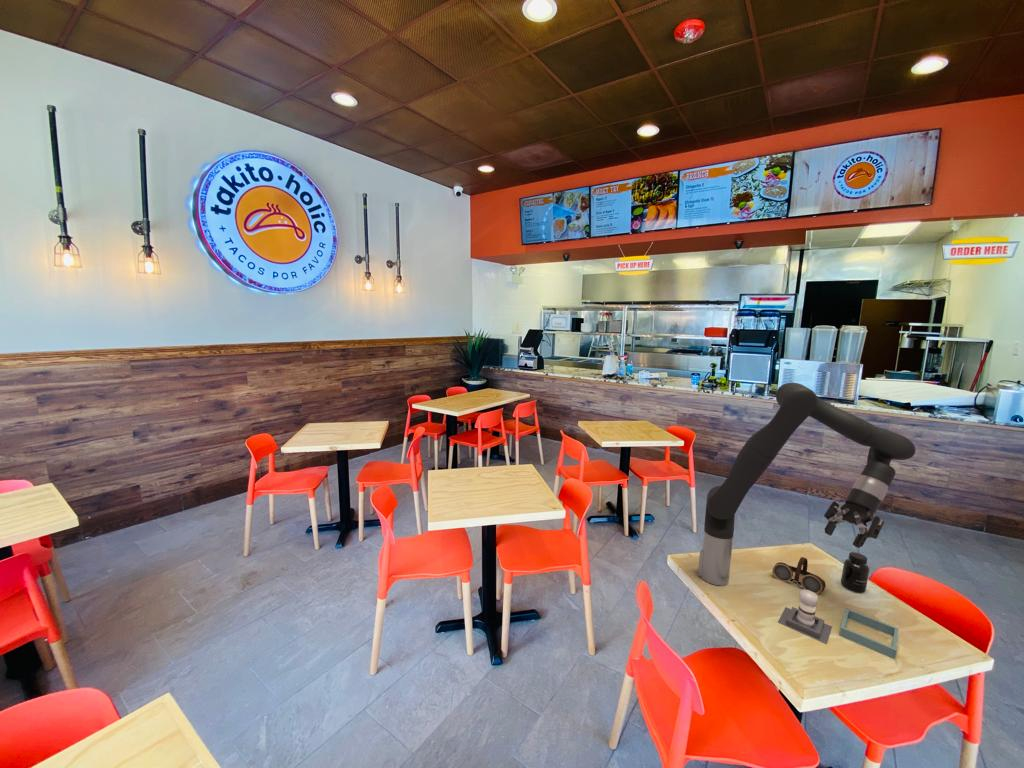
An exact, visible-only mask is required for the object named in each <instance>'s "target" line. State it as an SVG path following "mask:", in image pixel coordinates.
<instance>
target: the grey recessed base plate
mask: <svg viewBox="0 0 1024 768" xmlns="http://www.w3.org/2000/svg"><path fill="white" fill-rule="evenodd" d="M798 610H799V608H796V607H794V606H792V607H791V608H789V607H787V606H785V607H784V609H783V611H782V613H781V615H780V617H779V619H778V621H777V623H778V624H780V625H782V626H785V627H787V628H789V629H791V630H794V631H795V632H797V633H800V634H802V635H804V636H807V637H809V638H812V639H814V640H816V641H818V642H820V643H823V644H825V645H828V642H829V639H830V635H831V633H832V629H833V626H832V625H830V624H827V623H826V622H825V619H823V618H821V617H818V616H816V615H815V618H814V619H815V621H814V628H813V629H812V628H810V627H808V626H805V625H803V624H801V623H798V622H796V621H797V614H798Z"/></svg>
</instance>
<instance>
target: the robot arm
mask: <svg viewBox="0 0 1024 768" xmlns="http://www.w3.org/2000/svg"><path fill="white" fill-rule="evenodd" d="M775 401H776V402H777V404H778V405H779V409H778V410H777V411H776V413H775V415H774V416H773V418H772V419H771V420H770V421H769V422H767V424H765V426H763V427H762V428H760V429H759V430H758V431H756V432H755V433H754V434H752V435H751V436H750V437H749V438H748V439H747V440H746V442H745V443H744V445H743V446H742V447H741V449H740V450H739V452H738V454H737V456H736V457H735V460H734V462H733V464H732V466H731V469H730V471H729V474H727V476H726V478H725V480H724V482H723V483H722V484H721V485H717V486H713V487H712V488H711V489H709V491H708V493H707V495H706V503H705V515H704V516H705V517H704V526H703V538H702V548H701V549H700V551H699V558H698V569H697V576H698V577H700V578H701V579H702V580H704V581H705V582H707V583H709V584H712V585H715V586H726V585H727V584H728V583H729V579H730V571H731V569H730V568H731V560H732V551H733V544H734V543H733V541H734V533H735V518H736V517H735V515H736V513H737V511H738V510H739V508H740V506H741V504H742V502H743V501H744V499H745V497H746V496H747V494H748V493H749V491H750V490H751V488H752V487H753V486H754V485H755V483H756V482H757V481H759V479H760V478H761V477H762V475H763V474H764V472H765V471H766V470H767V469H768V468H769V466H770V465H771V464H772V462H773V461H774V460H775V459H776V457H777V456H778V455H779V452H780V451H781V450H782V449H783V448H784V446H785V445H786V443H787V442H788V441H789V439H790V438H791V436H792V435H793V434H794V432H796V430H797V429H799V427H800V426H801V425H802V424H803V423H804V422H805V421H806V420H807V419H808V417H810V418H812V419H814V420H816V421H817V422H820V423H822V424H823V425H824V426H826V427H828V428H829V429H831V430H833V431H835V433H838V434H839V435H840V436H842V437H845V438H847V439H848V440H851V441H852V442H854V443H856V444H859V445H862V446H865V447H869V449H868V454H867V458H866V459H867V460H866V465H865V466H864V468H863V470H862V472H861V474H860V475H859V477H857V479H856V480H855V482H854V484H853V485H852V487H851V488H850V491H849V492H848V494H847V496H846V498H845V502H844V503H843V504H840V503H838V502H837V501H832V503H831V504H830V505H829V507H828V509H827V510H826V512H825V514H824V515H823V517H824V518H826V520H827V521H828V522H827V523H826V526H825V528H824V534H826V535H828V536H829V537H830V536H832V535H833V533H834V531H835V530H836V528H837V525H839V524H841V523H843V524H844V523H849V524H853V525H854V526H856V527H858V530H859V533H857V534H856V537H855V539H854V540H853V542H852V545H853V546H854V547H855V548H858V549H860V548H862V547H863V546H864V545H865V543H866V541H867V539H869V538H871V539H872V538H873V539H874V540H875V539H877V538H878V537H879V536H880V532H881V530H882V528H883V526H884V524H885V521H884V520H883V519H882V518H881V517H879V516H877V515H876V516H874V514H876V513H877V511H878V509H879V507H880V506H881V504H882V502H883V501H884V499H885V498H886V495H887V493H888V489H889V487H890V485H891V483H892V482H893V480H894V478H895V475H896V474H897V473H896V469H895V468H894V467H893V466H891V461H892V460H895V461H896V460H897V461H905V460H909V459H911V458H913V457H914V455H915V454H916V451H917V449H916V445H915V444H914V443H913V442H912V440H910V439H909V438H908V437H906V436H904V435H901V434H899V433H897V432H894V431H891V430H888V429H884V428H881V427H878V426H877V425H875V424H873V423H871V422H869V421H867V420H864V419H863V418H862V417H861V418H860V417H859V416H856V415H855V414H852V413H850V412H847V411H846V410H842V409H841V408H839V407H837V406H834V405H832V404H830V403H828V402H826V401H825V400H823V399H821V398H820V397H818V396H817V394H816V393H815V391H813V390H812V389H810V388H809V387H807V386H806V385H804V384H801V383H798V382H786V383H784V384H782V385H780V386H779V387H778V388H777V390H776V392H775ZM870 522H871V523H870ZM868 523H870V525H869V526H868Z"/></svg>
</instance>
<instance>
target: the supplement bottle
mask: <svg viewBox="0 0 1024 768" xmlns="http://www.w3.org/2000/svg"><path fill="white" fill-rule="evenodd" d="M867 563H868V557H867V556H866V555H864V554H862V553H859V552H856V551H850V552H849V554H848V557H847V558H846V559H844V561H843V566H842V572H841V579H840V584H841V586H842V587H843V588H845V589H846V590H848V591H850V592H853V593H855V594H856V593H858V594H863V593H865V592H866V590H867V586H868V579H869V575H870V567H869V566H868V564H867Z"/></svg>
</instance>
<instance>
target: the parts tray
mask: <svg viewBox="0 0 1024 768" xmlns="http://www.w3.org/2000/svg"><path fill="white" fill-rule="evenodd" d="M842 617H843V618H842V621H841V624H840V630H839V636H840V637H842V638H844V639H847V640H849V641H851V642H854V643H856V644H859V645H860V646H863V647H865V648H867V649H870V650H873V651H875V652H877V653H880V654H882V655H884V656H887V657H889V658H891V659H894V660H896V658H897V650H898V641H899V631H900V630H899V627H896V626H894V625H891V624H888V623H886V622H884V621H880V620H878V619H876V618H873V617H870V616H868V615H865V614H863V613H860V612H857V611H855V610H852V609H849V608H845V610H844V614H843V616H842ZM848 619H849V620H852V621H855V622H857V623H860V624H862V625H864V626H866V627H870V628H871V629H875V630H876V631H879V632H882V633H884V634H887V635H888V636H889V635H890V636H892V637H893V638H892V646H890V645H887V644H885V643H883V642H880V641H877V640H876V639H873V638H871V637H868V636H866V635H863V634H861V633H858V632H856V631H854V630H851V629H849V628H846V627H847V622H848Z"/></svg>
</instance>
